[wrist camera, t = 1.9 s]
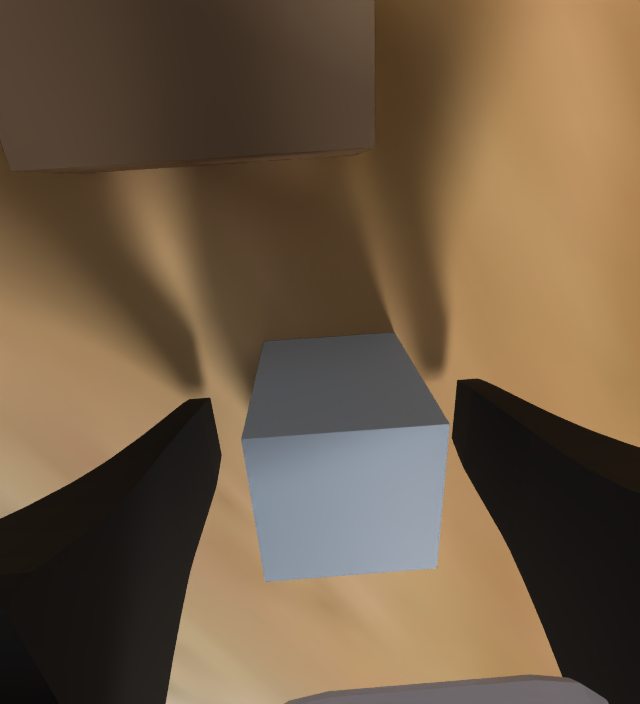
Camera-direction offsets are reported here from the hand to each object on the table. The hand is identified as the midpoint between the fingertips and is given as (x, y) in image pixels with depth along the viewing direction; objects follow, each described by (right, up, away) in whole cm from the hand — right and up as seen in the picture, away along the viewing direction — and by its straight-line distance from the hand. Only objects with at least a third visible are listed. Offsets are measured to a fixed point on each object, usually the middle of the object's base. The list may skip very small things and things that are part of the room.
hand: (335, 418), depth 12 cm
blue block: (0, +1, +1) cm, 2 cm away
